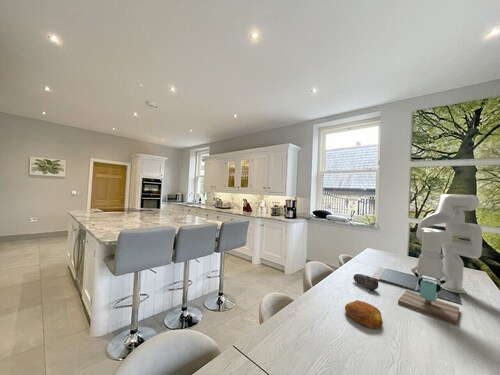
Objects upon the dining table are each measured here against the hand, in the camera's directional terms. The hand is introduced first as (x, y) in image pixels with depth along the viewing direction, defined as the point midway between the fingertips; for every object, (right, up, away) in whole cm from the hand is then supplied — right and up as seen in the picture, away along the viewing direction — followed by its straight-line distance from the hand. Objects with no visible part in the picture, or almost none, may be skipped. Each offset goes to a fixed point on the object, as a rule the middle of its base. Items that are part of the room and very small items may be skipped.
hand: (428, 288), depth 109 cm
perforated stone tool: (-22, -9, +21) cm, 32 cm away
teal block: (0, -5, 0) cm, 5 cm away
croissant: (-40, -8, -12) cm, 43 cm away
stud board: (0, -10, 0) cm, 10 cm away
